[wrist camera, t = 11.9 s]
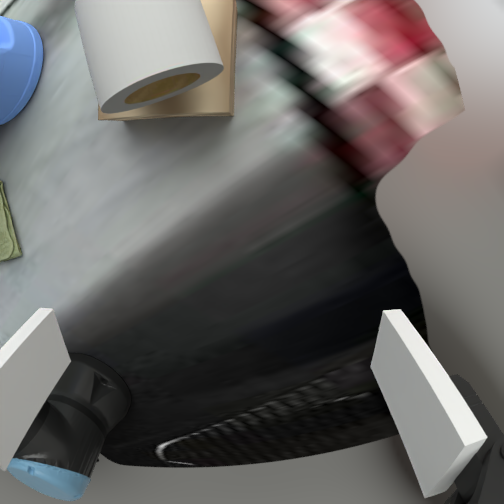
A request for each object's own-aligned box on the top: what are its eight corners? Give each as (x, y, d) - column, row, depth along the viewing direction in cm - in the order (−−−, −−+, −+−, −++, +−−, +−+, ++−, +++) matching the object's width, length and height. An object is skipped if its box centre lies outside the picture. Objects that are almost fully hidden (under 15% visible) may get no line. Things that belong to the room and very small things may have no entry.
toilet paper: (228, 76, 26) (215, 51, 17) (129, 115, 27) (77, 112, 18) (198, -10, 23) (176, -59, 13) (104, 30, 24) (52, 2, 15)
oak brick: (124, 120, 34) (98, 120, 27) (129, 21, 29) (106, 4, 23) (233, 116, 34) (228, 112, 27) (237, 12, 29) (233, -12, 23)
